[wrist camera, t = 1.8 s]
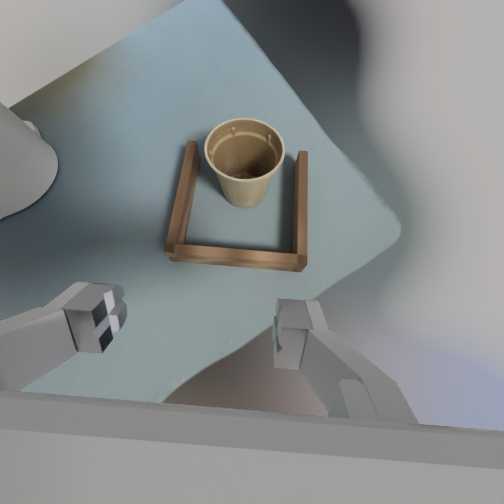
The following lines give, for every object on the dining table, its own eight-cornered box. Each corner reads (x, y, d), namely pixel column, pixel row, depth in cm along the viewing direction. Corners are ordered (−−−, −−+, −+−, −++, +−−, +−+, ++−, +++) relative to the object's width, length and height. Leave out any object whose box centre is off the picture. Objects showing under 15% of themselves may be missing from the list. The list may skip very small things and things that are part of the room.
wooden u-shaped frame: (172, 260, 32) (163, 252, 29) (192, 157, 38) (188, 140, 34) (300, 272, 32) (307, 264, 29) (302, 167, 38) (307, 151, 35)
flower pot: (231, 155, 38) (227, 106, 30) (285, 178, 37) (297, 133, 29) (201, 202, 35) (188, 161, 27) (259, 228, 34) (264, 193, 26)
